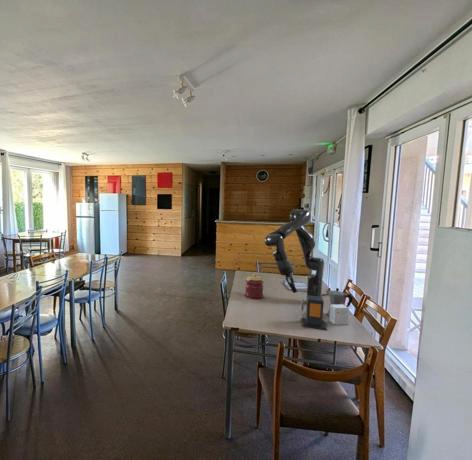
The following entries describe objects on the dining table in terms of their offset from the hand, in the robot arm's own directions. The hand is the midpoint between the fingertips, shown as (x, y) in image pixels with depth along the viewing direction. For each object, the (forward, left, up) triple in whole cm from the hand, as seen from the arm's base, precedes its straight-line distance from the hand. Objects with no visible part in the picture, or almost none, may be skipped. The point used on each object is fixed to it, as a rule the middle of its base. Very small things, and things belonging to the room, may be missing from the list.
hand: (295, 292), depth 171 cm
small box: (-10, +25, -19) cm, 33 cm away
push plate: (-2, +4, -10) cm, 12 cm away
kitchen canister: (-41, -27, -19) cm, 53 cm away
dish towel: (-81, +4, -19) cm, 84 cm away
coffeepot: (-22, +26, -19) cm, 39 cm away
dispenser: (-2, +11, -19) cm, 22 cm away
